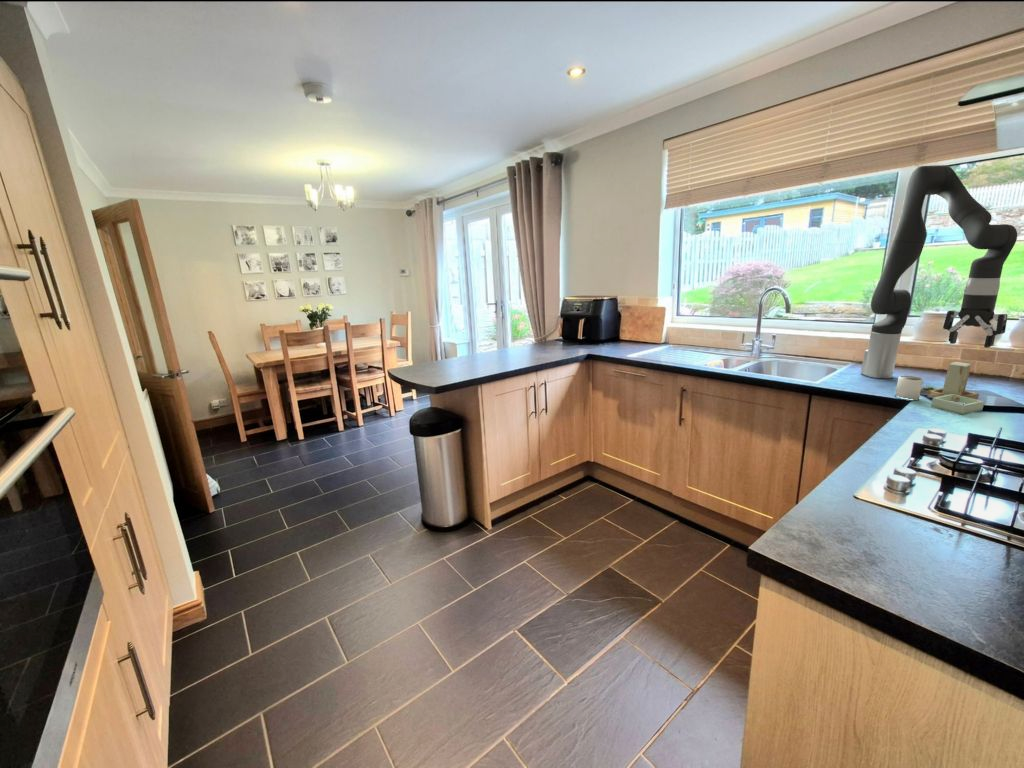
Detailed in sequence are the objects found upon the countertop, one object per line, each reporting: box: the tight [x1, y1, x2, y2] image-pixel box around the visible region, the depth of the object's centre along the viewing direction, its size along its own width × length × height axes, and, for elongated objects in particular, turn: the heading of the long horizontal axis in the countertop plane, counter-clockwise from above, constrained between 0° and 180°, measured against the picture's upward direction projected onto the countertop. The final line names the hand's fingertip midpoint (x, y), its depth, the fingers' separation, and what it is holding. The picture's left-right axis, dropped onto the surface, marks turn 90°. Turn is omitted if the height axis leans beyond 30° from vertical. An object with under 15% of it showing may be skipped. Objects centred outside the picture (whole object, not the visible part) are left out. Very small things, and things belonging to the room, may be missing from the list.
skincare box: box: [942, 361, 972, 396], centre depth 158 cm, size 6×4×12 cm
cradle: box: [921, 386, 980, 402], centre depth 162 cm, size 14×11×2 cm
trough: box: [930, 394, 985, 416], centre depth 151 cm, size 8×10×3 cm
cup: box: [894, 374, 924, 401], centre depth 161 cm, size 6×6×7 cm
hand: (969, 345), depth 151 cm, fingers open, 8 cm apart
